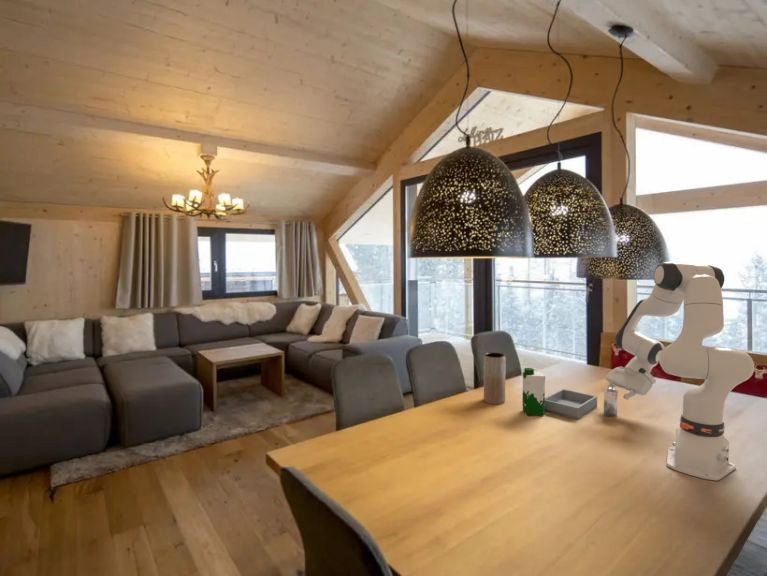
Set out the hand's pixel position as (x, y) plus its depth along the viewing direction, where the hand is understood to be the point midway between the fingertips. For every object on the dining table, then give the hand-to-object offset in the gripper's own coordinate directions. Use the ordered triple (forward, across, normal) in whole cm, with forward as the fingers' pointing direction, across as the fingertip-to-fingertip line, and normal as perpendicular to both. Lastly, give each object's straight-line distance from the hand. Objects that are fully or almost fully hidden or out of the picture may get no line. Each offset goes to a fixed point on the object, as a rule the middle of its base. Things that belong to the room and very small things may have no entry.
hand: (616, 395), depth 189 cm
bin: (+16, -12, -4) cm, 21 cm away
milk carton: (+30, -11, -18) cm, 37 cm away
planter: (+36, -30, -24) cm, 53 cm away
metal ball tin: (+8, 0, +4) cm, 9 cm away
